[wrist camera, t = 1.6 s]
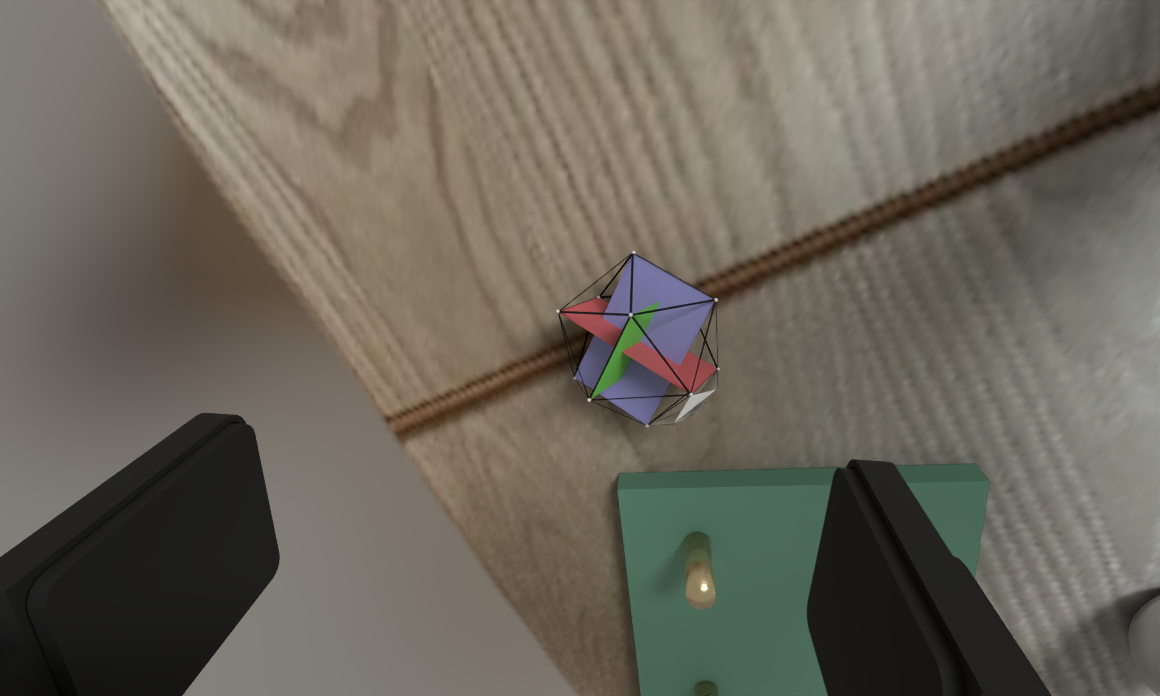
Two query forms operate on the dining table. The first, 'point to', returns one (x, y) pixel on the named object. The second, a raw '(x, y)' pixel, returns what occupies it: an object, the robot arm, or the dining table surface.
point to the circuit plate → (753, 569)
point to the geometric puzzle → (644, 342)
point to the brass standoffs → (700, 587)
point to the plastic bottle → (1147, 643)
